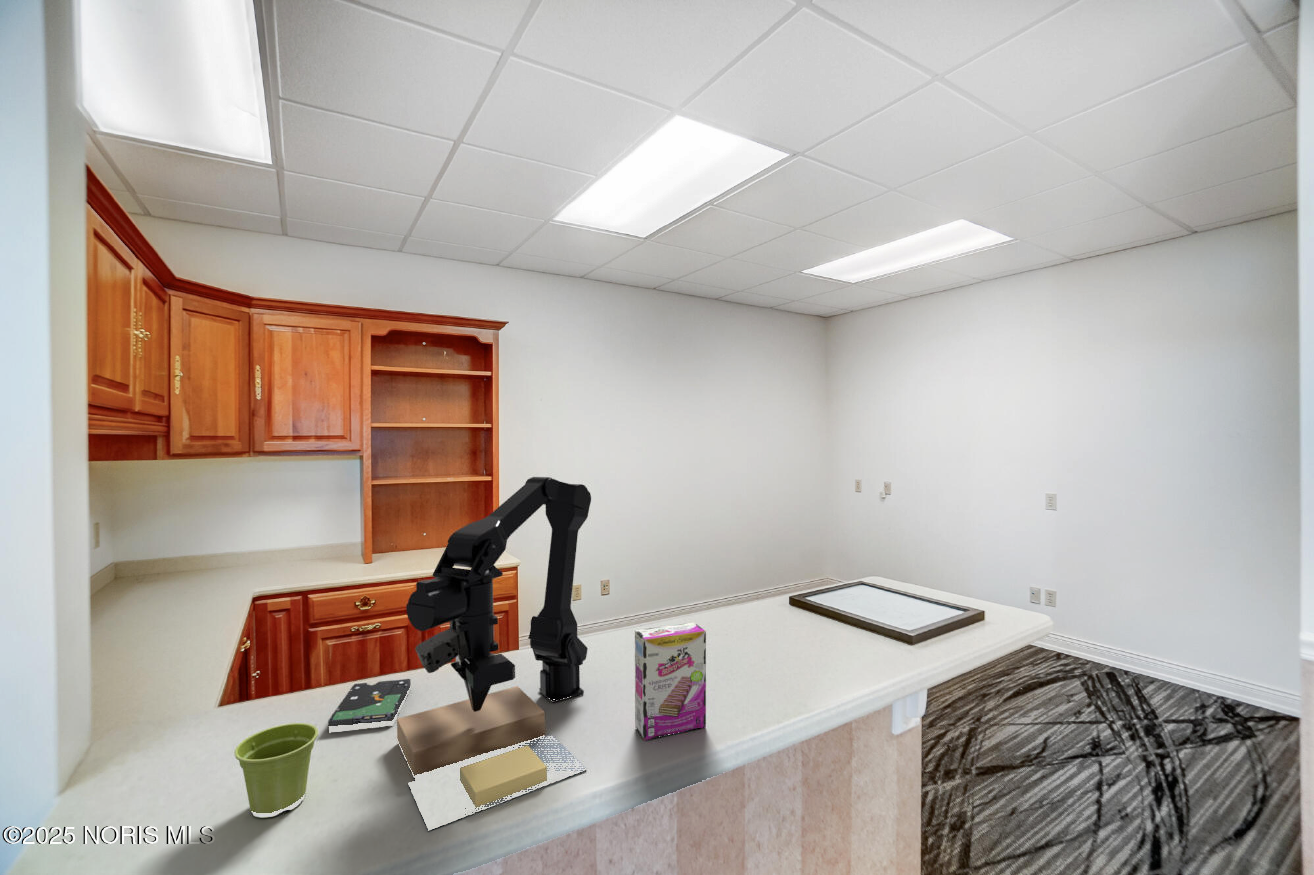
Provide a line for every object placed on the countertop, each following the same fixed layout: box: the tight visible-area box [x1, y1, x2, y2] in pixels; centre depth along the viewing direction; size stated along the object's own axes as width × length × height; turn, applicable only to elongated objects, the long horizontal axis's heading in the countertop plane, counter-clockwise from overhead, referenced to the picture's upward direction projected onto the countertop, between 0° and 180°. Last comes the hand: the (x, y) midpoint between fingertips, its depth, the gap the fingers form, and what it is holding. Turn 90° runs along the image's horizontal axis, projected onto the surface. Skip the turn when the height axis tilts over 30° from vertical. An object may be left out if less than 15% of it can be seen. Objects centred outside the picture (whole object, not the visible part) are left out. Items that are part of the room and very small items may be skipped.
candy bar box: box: [634, 622, 707, 741], centre depth 96 cm, size 11×5×16 cm, turn 111°
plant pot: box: [234, 722, 319, 813], centre depth 78 cm, size 9×9×9 cm
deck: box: [396, 685, 546, 776], centre depth 93 cm, size 20×12×4 cm, turn 125°
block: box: [460, 745, 547, 808], centre depth 82 cm, size 10×7×2 cm
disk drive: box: [327, 678, 412, 726], centre depth 104 cm, size 10×3×15 cm
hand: (476, 710), depth 91 cm, fingers closed
